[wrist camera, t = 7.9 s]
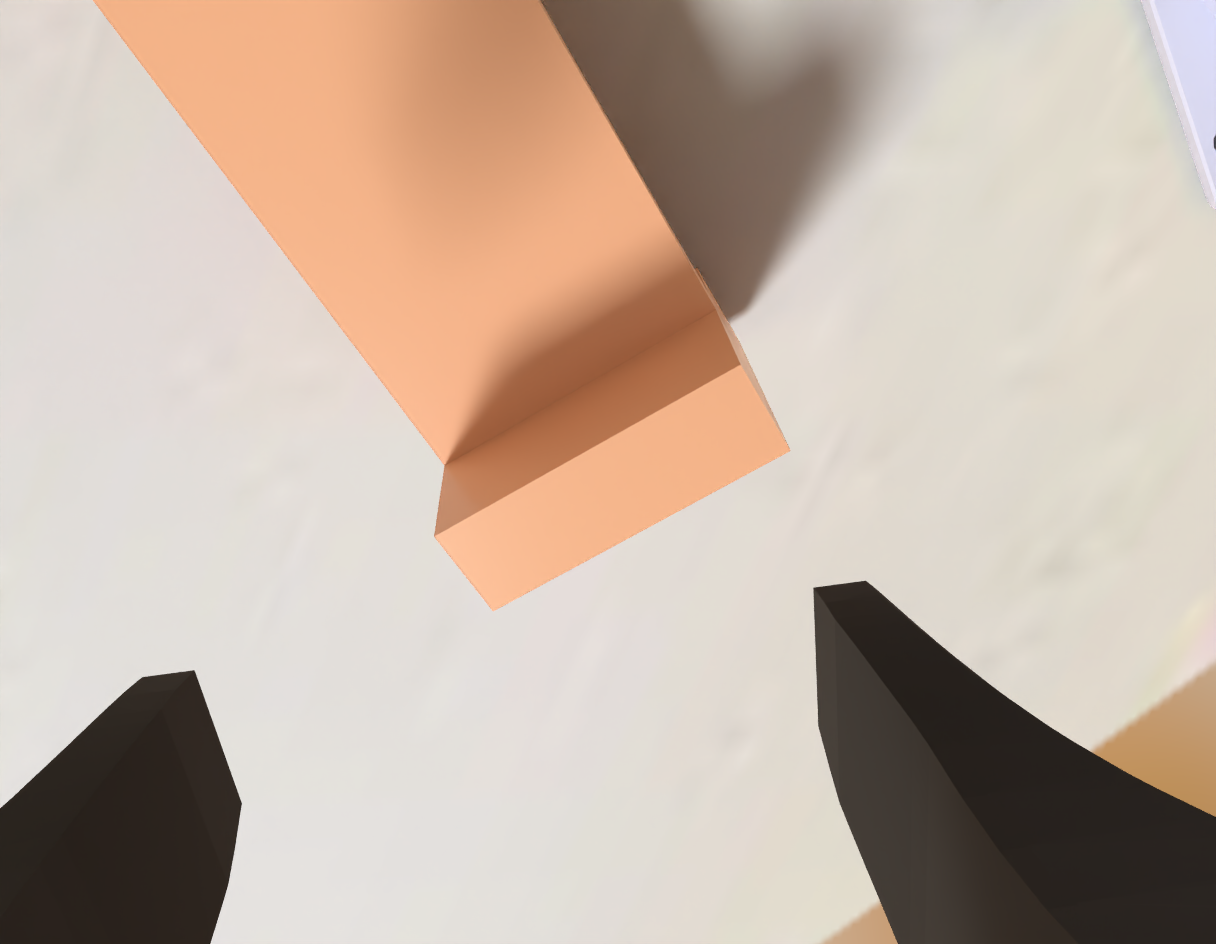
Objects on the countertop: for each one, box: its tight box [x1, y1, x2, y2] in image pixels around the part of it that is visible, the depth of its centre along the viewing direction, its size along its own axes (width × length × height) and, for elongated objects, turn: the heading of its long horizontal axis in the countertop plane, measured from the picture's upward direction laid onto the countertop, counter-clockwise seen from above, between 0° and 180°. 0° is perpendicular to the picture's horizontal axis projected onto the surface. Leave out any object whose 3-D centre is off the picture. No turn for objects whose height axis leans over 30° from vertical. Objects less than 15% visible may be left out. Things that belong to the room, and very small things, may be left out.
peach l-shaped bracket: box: [93, 0, 790, 611], centre depth 16 cm, size 14×5×5 cm, turn 31°
